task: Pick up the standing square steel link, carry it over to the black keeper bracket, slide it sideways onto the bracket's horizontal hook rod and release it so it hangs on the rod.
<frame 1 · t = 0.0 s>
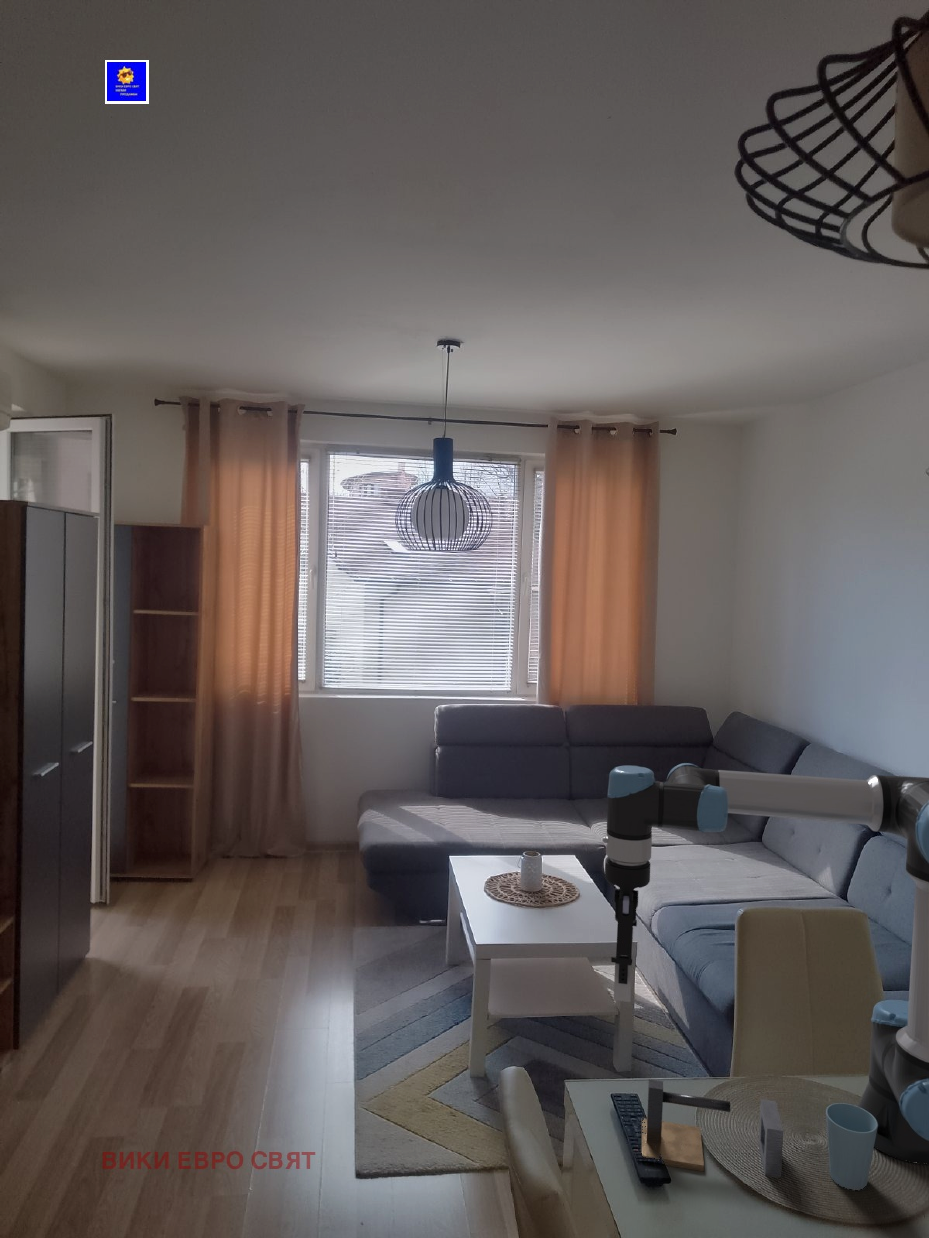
hand: (623, 980, 146), 28 cm above the table, fingers open, 13 cm apart
keeper: (671, 1146, 146), on the table
cup: (848, 1179, 140), on the table
link: (769, 1160, 143), on the table
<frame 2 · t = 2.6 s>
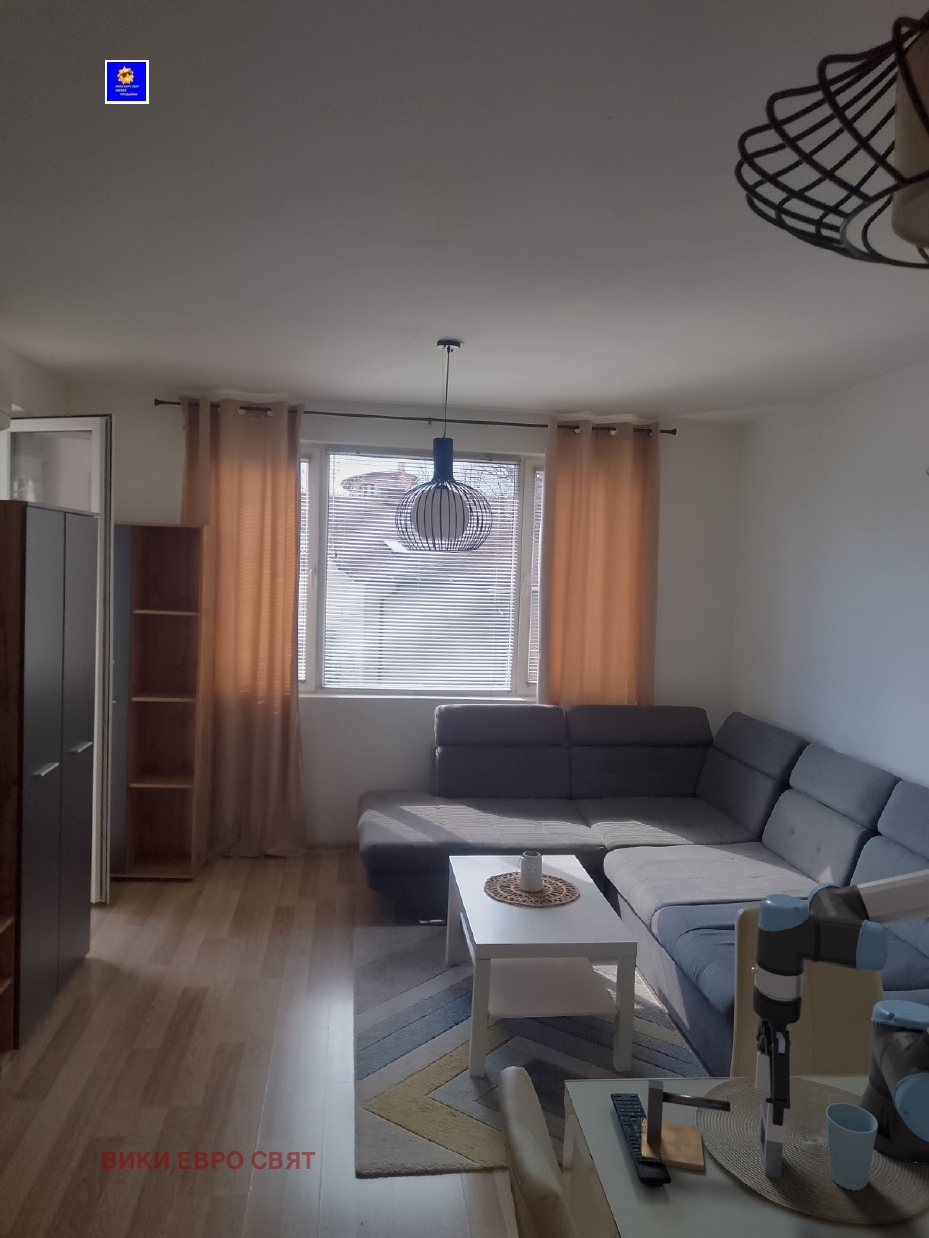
hand: (768, 1114, 143), 8 cm above the table, fingers open, 13 cm apart
nothing on the table moved.
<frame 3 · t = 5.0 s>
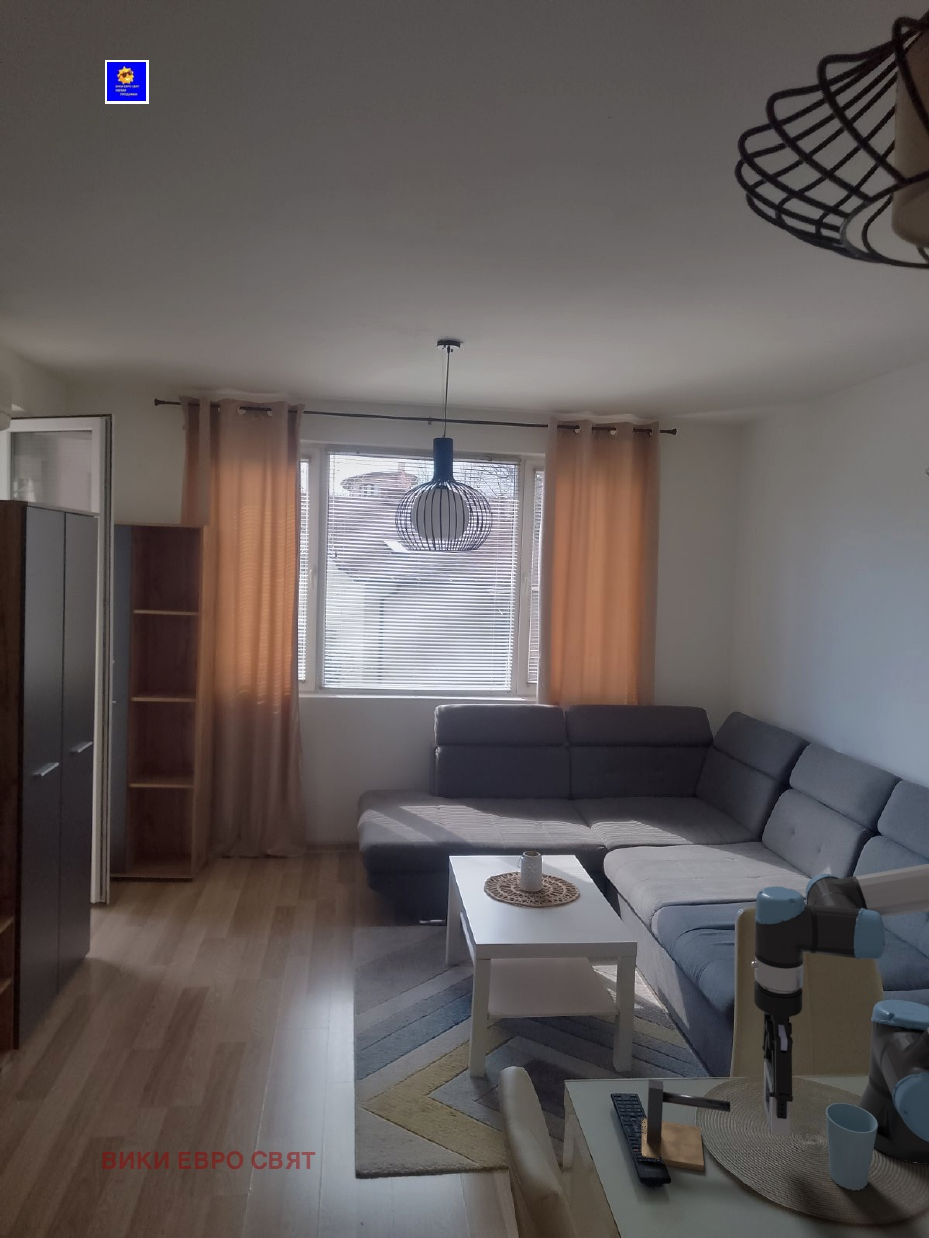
hand: (776, 1116, 143), 8 cm above the table, fingers closed on link, 8 cm apart
link: (774, 1118, 143), point 7 cm above the table, touching gripper
everything else where it was.
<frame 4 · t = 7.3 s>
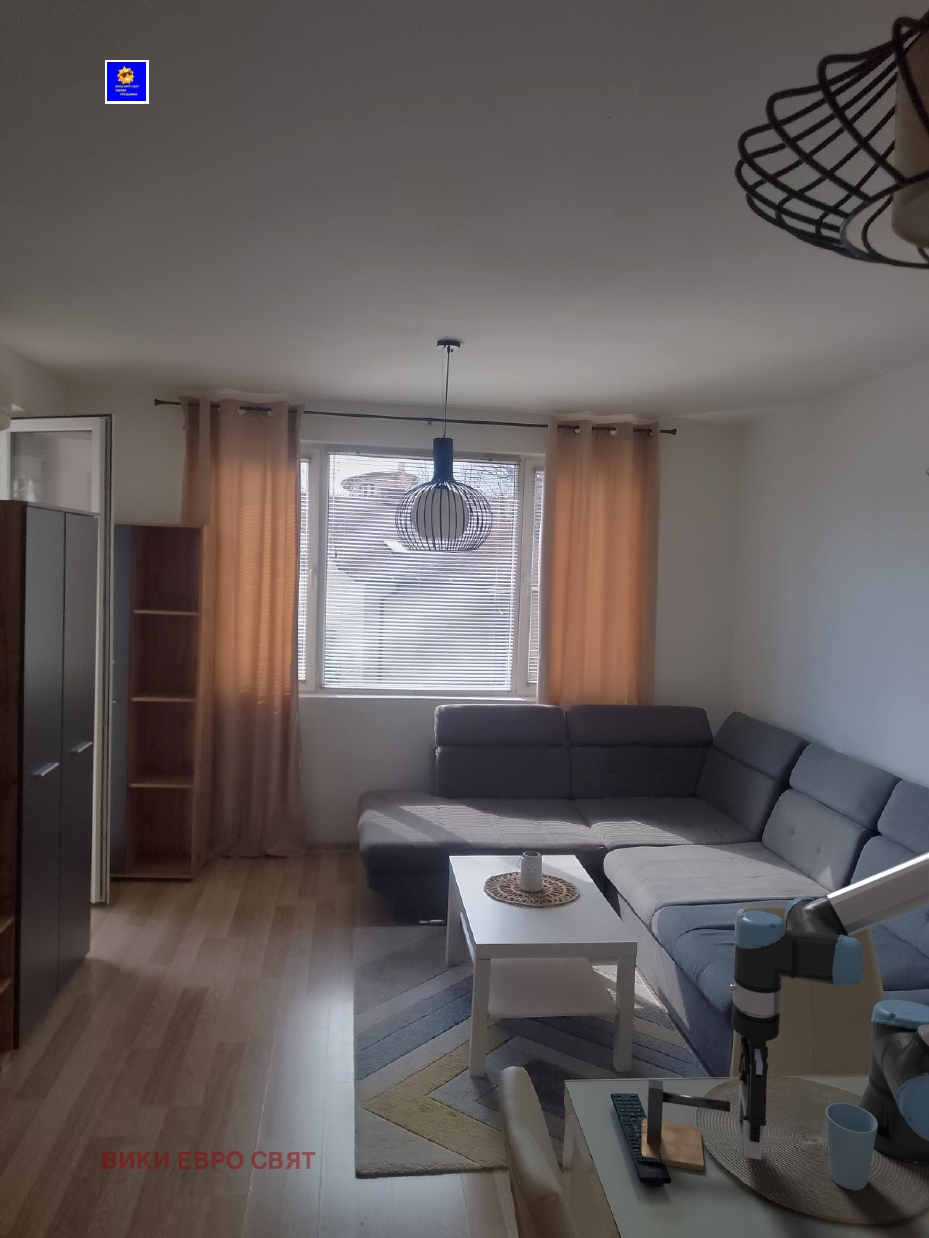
hand: (749, 1139, 143), 3 cm above the table, fingers closed on link, 8 cm apart
link: (747, 1141, 143), point 3 cm above the table, touching gripper
everything else where it was.
when the fingers open (3 cm above the table, at t = 10.0 s): link stays where it is, resting on keeper.
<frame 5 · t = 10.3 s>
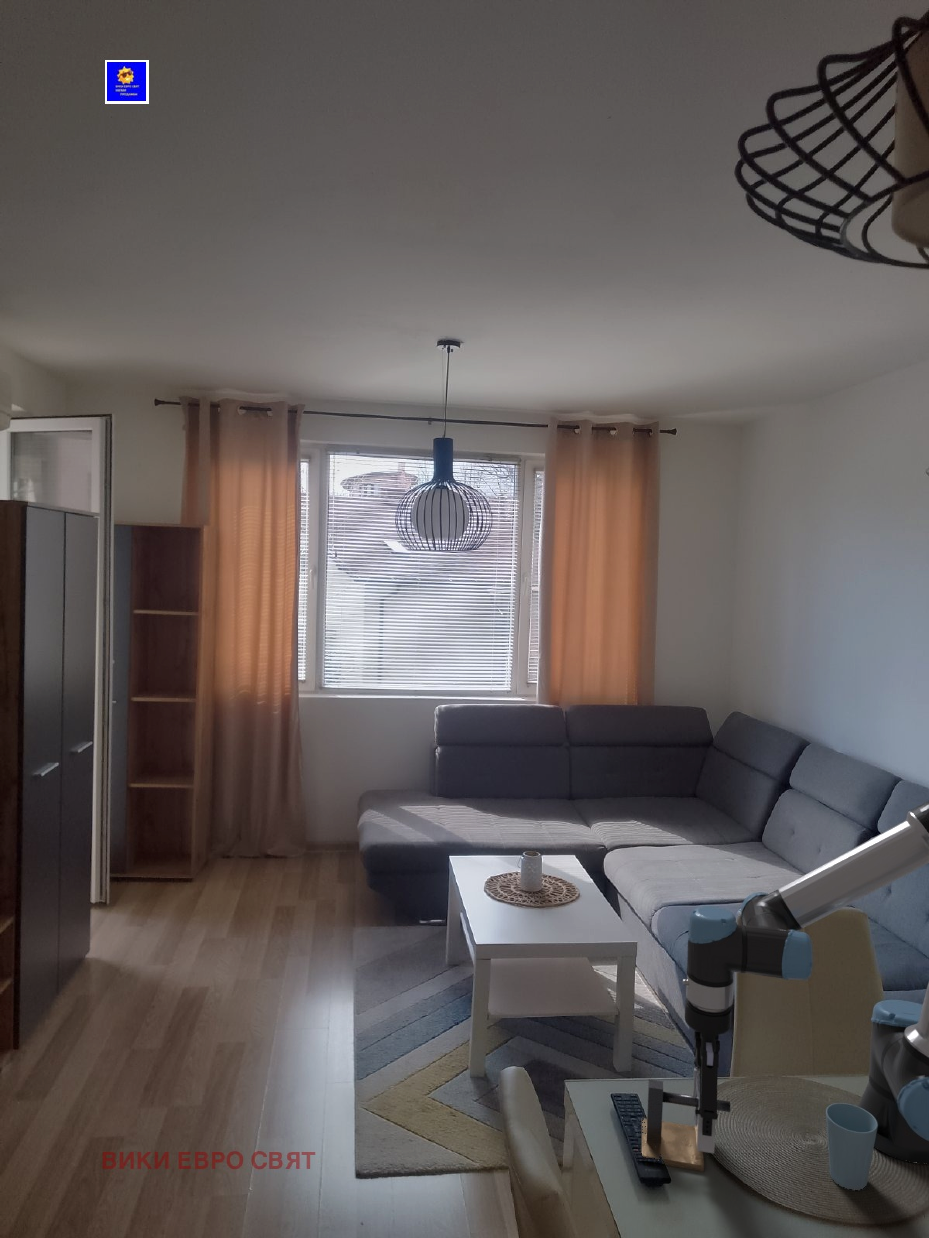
hand: (702, 1127, 145), 4 cm above the table, fingers open, 11 cm apart
link: (703, 1133, 145), point 3 cm above the table, touching keeper
everything else where it was.
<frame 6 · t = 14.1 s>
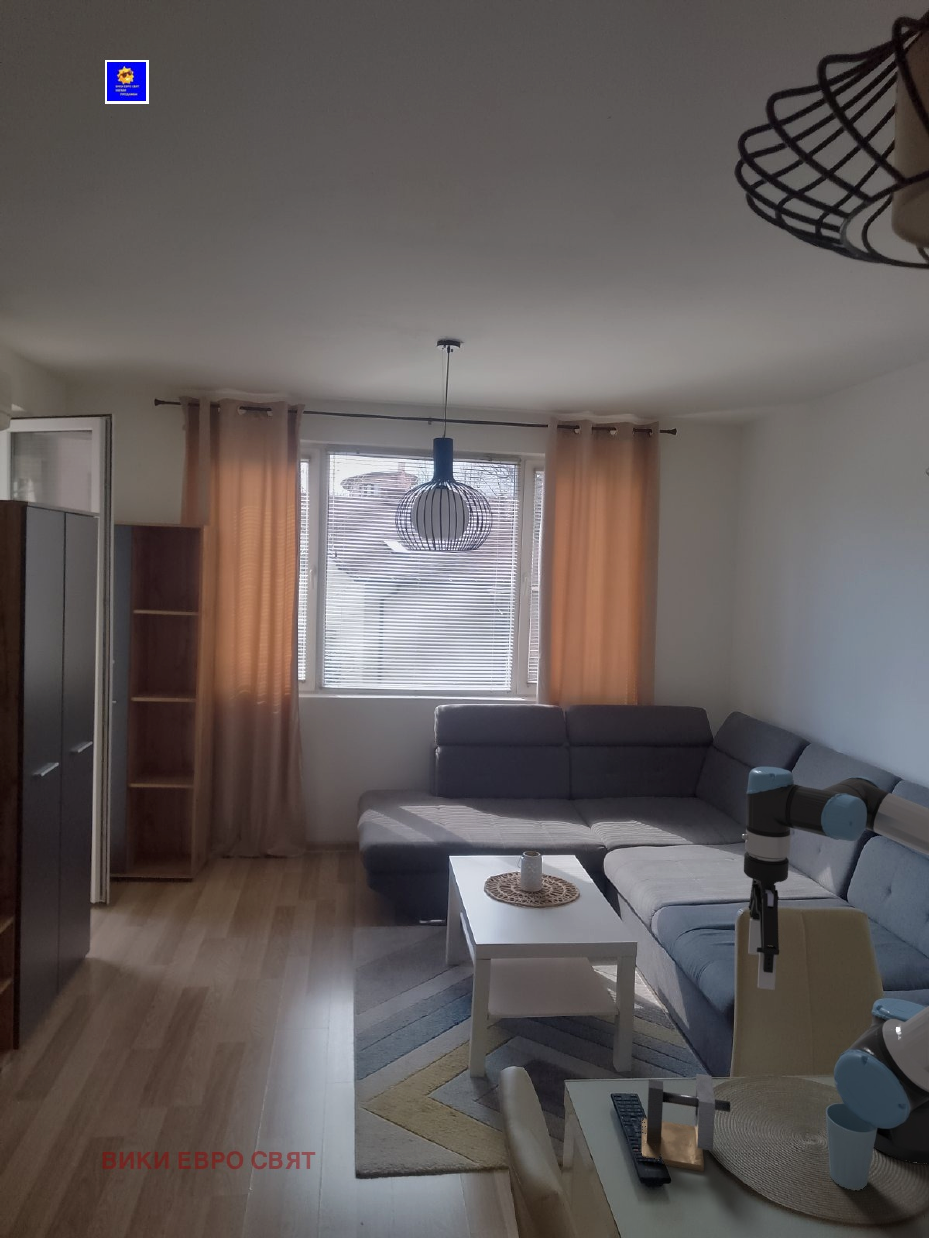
hand: (760, 970, 154), 27 cm above the table, fingers open, 13 cm apart
nothing on the table moved.
at the end: link inside the target area on the keeper (0.1 cm from its centre), point 3.1 cm above the keeper's base; link touching keeper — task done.
